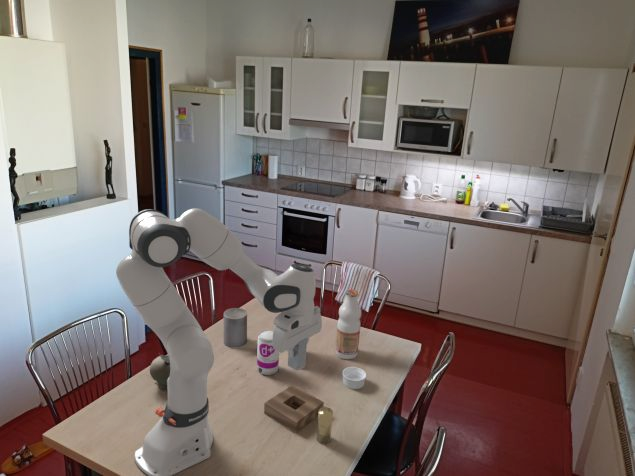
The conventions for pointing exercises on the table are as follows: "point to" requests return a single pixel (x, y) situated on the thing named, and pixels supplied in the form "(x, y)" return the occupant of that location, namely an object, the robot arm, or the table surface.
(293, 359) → the square bit
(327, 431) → the round bit
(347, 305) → the fruit juice
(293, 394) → the socket block
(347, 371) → the ramekin
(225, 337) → the pillar candle
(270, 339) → the supplement can
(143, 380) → the table surface
